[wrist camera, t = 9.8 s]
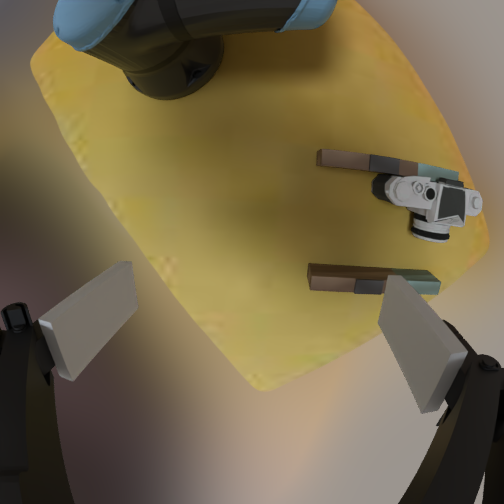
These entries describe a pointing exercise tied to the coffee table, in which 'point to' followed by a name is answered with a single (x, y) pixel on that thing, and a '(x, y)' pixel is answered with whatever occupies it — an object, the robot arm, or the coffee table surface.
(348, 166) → the rail
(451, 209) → the camera
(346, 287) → the rail
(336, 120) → the coffee table surface
